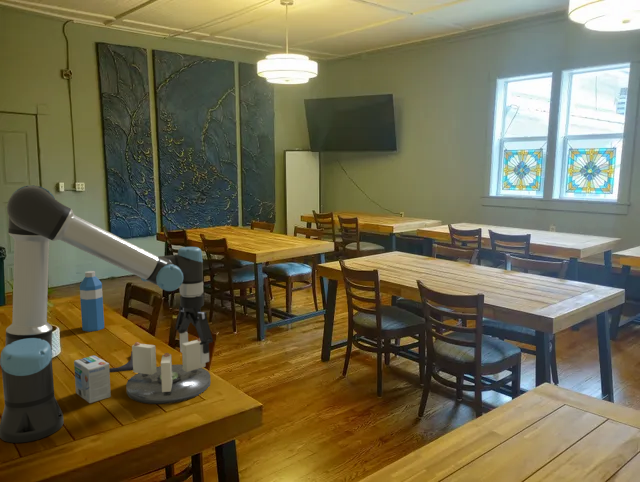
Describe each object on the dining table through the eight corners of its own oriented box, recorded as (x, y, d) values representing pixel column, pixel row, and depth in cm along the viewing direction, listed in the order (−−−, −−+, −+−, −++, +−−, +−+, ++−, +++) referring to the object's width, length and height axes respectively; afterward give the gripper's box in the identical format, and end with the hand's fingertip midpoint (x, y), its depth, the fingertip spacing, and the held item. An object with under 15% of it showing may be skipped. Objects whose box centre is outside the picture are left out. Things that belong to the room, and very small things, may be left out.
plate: (171, 411, 150) (170, 398, 149) (108, 393, 162) (107, 380, 161) (226, 378, 173) (226, 367, 172) (167, 365, 185) (167, 354, 184)
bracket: (153, 355, 196) (153, 348, 196) (152, 369, 182) (152, 362, 182) (113, 359, 192) (112, 352, 192) (108, 374, 178) (108, 366, 178)
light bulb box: (75, 393, 162) (72, 360, 160) (96, 386, 167) (94, 354, 165) (90, 404, 155) (87, 369, 153) (112, 396, 159) (110, 363, 158)
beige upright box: (186, 375, 170) (185, 342, 168) (182, 373, 172) (181, 340, 170) (205, 369, 175) (204, 338, 173) (201, 367, 176) (200, 336, 175)
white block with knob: (171, 395, 155) (169, 359, 154) (162, 396, 155) (160, 360, 153) (172, 385, 162) (171, 351, 160) (163, 386, 161) (162, 352, 160)
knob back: (156, 375, 170) (155, 342, 168) (151, 378, 167) (150, 345, 166) (138, 372, 172) (136, 340, 170) (133, 375, 169) (131, 343, 168)
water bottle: (99, 331, 222) (96, 274, 218) (77, 331, 222) (74, 274, 218) (108, 324, 231) (105, 269, 227) (87, 324, 231) (84, 269, 227)
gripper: (222, 299, 163) (224, 364, 166) (183, 286, 181) (186, 344, 184) (201, 303, 158) (203, 370, 161) (163, 289, 176) (166, 349, 179)
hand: (194, 356), depth 172 cm, fingers open, 13 cm apart
